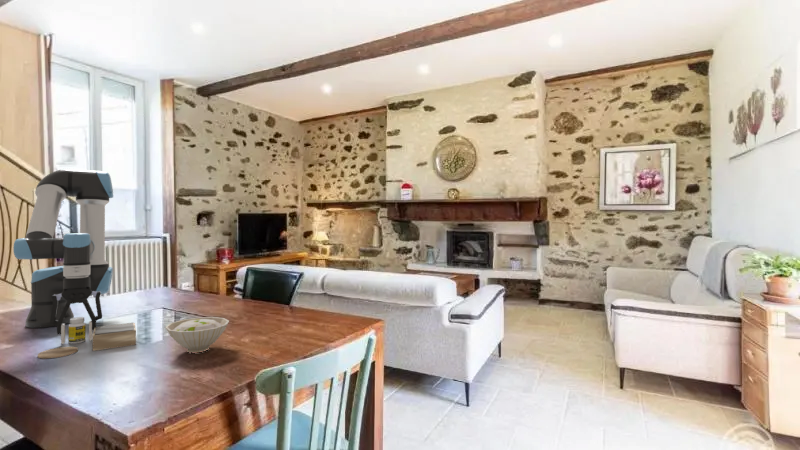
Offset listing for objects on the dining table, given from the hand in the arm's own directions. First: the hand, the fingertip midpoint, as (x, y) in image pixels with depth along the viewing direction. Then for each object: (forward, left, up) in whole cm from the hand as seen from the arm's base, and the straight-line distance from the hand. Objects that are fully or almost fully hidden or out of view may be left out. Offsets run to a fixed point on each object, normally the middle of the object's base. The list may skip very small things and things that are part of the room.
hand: (77, 341), depth 142 cm
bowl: (+33, +34, -1) cm, 47 cm away
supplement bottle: (0, 0, -1) cm, 1 cm away
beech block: (+9, +11, 0) cm, 14 cm away
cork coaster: (+12, -4, 0) cm, 12 cm away
